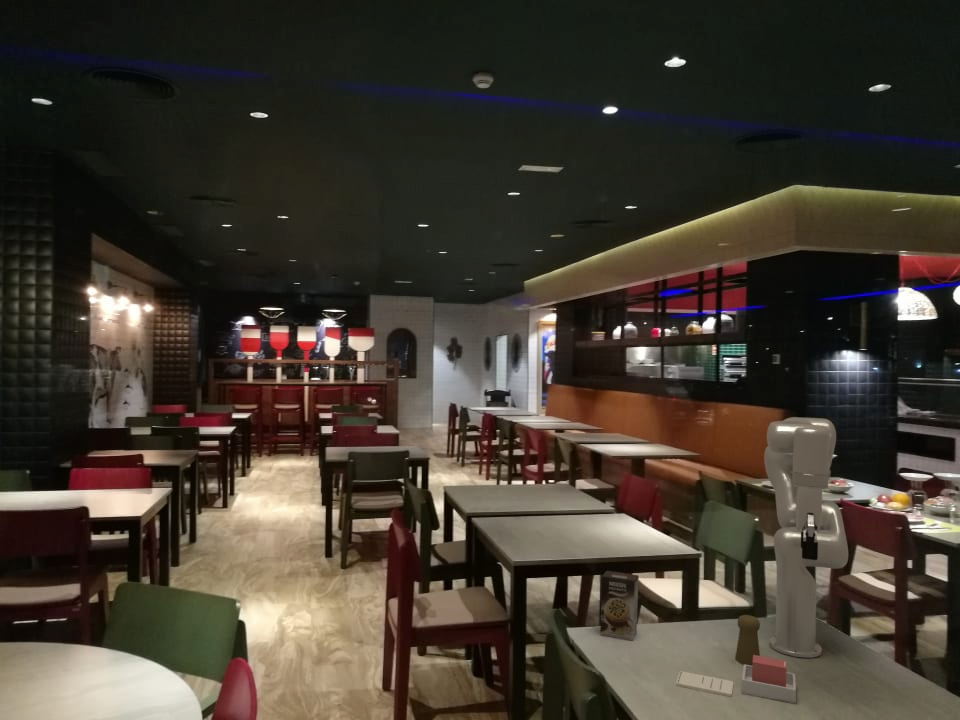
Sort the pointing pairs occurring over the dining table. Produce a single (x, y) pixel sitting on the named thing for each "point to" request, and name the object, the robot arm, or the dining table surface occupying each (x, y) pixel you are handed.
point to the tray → (769, 687)
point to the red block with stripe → (769, 670)
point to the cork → (747, 639)
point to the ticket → (705, 683)
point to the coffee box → (619, 605)
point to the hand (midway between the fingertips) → (808, 554)
